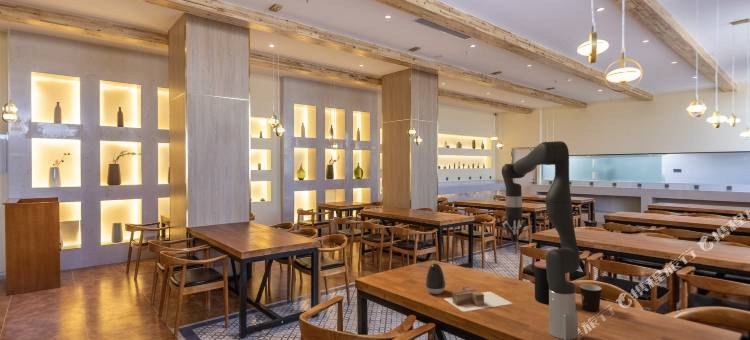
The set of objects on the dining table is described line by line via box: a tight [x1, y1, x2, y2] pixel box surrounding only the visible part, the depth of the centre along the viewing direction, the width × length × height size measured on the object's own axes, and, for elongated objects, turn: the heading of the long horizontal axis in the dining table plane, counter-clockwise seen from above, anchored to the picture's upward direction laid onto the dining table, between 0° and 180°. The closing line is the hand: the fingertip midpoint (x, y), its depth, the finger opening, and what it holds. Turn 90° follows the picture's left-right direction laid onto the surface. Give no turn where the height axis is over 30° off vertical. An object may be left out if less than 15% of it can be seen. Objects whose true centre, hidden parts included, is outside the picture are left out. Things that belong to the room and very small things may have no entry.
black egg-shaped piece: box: [425, 263, 446, 295], centre depth 201 cm, size 10×10×15 cm
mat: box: [443, 291, 514, 313], centre depth 187 cm, size 18×27×1 cm, turn 109°
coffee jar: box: [533, 260, 549, 306], centre depth 186 cm, size 11×11×18 cm
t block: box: [452, 286, 484, 306], centre depth 186 cm, size 12×12×5 cm
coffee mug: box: [579, 283, 603, 313], centre depth 176 cm, size 12×9×10 cm
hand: (514, 241), depth 185 cm, fingers closed
